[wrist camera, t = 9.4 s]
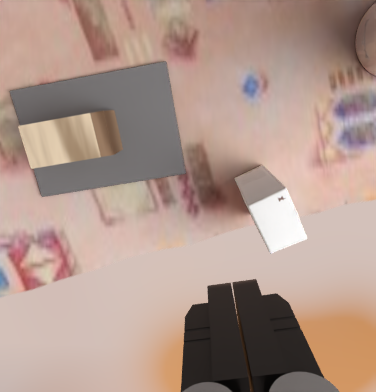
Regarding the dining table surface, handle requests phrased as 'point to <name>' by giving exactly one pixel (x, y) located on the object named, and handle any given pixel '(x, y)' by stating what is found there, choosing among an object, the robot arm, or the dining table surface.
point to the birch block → (71, 139)
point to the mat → (126, 119)
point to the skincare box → (271, 209)
